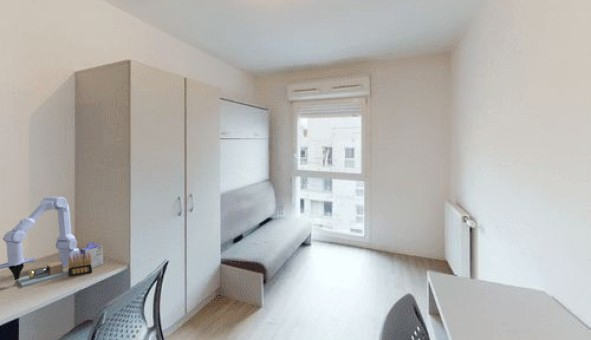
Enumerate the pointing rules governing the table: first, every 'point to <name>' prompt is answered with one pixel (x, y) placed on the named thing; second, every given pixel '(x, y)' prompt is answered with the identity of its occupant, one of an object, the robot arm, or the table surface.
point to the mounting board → (44, 275)
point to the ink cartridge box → (94, 254)
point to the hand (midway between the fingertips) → (16, 278)
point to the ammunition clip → (80, 265)
